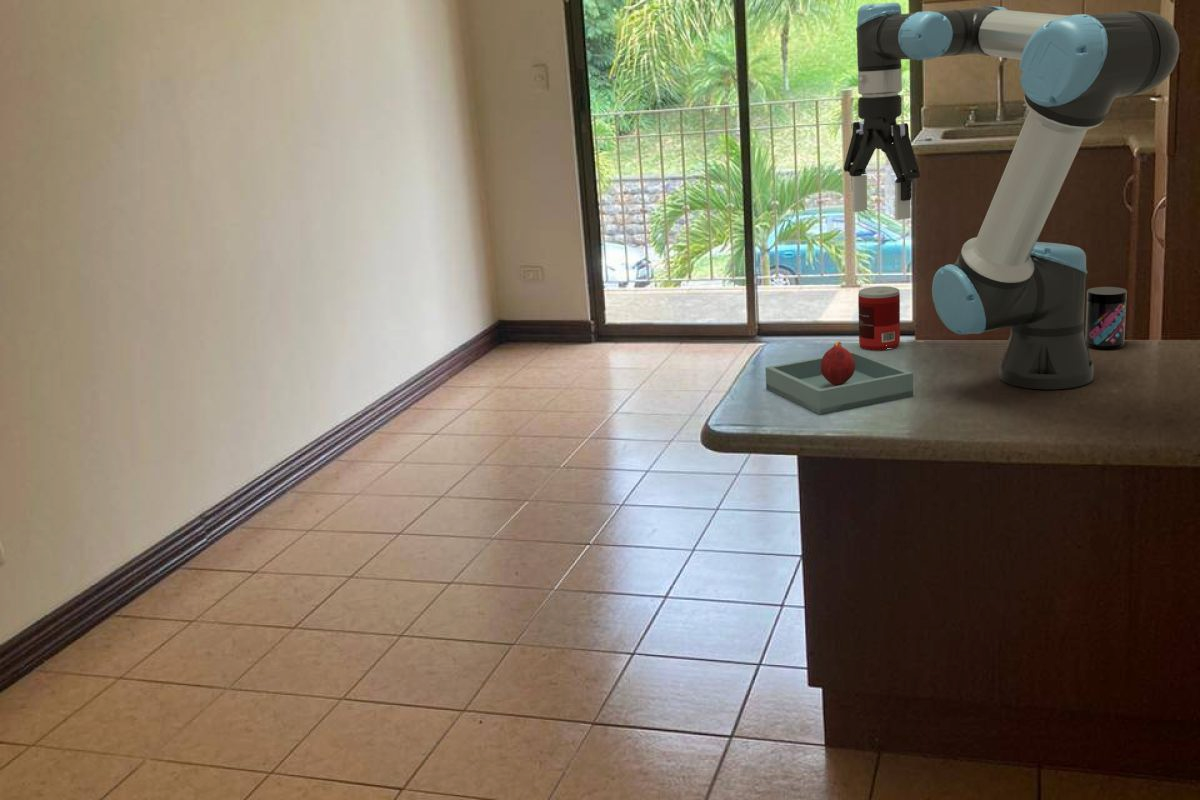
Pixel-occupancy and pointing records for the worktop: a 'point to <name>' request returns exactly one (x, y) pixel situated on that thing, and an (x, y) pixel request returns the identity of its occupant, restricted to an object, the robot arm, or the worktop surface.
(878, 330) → the canned food
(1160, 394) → the worktop surface
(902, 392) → the bin
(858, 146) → the robot arm
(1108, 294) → the supplement container
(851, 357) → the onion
